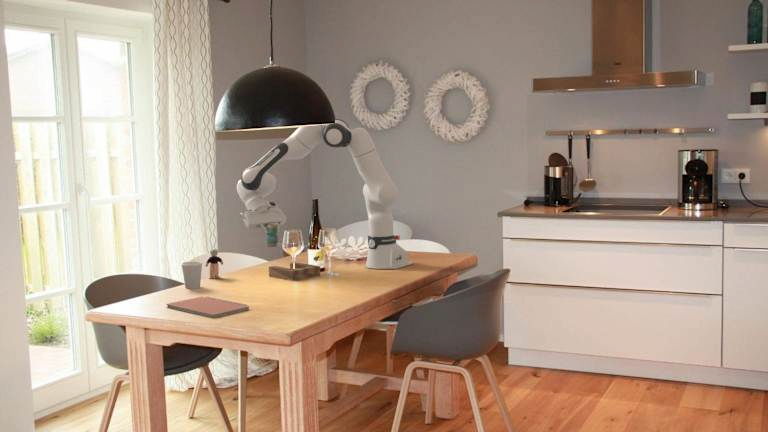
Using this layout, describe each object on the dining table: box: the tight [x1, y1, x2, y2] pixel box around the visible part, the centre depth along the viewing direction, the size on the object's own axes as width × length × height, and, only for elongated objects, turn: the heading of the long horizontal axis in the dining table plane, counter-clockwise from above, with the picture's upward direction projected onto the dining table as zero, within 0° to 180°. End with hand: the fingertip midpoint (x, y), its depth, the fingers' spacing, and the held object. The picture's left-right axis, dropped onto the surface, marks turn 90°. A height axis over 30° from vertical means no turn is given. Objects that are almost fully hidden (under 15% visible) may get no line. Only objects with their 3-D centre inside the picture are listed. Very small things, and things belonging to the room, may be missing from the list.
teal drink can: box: [266, 223, 279, 248], centre depth 355 cm, size 5×5×10 cm
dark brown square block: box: [268, 261, 321, 282], centre depth 346 cm, size 15×16×4 cm
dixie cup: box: [180, 260, 203, 290], centre depth 324 cm, size 8×8×10 cm
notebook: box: [165, 296, 251, 319], centre depth 288 cm, size 27×17×2 cm, turn 49°
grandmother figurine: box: [204, 247, 224, 280], centre depth 344 cm, size 8×4×13 cm, turn 131°
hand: (273, 232), depth 354 cm, fingers closed on teal drink can, 5 cm apart
